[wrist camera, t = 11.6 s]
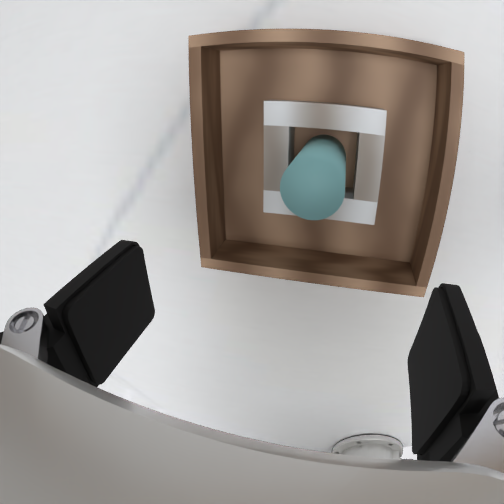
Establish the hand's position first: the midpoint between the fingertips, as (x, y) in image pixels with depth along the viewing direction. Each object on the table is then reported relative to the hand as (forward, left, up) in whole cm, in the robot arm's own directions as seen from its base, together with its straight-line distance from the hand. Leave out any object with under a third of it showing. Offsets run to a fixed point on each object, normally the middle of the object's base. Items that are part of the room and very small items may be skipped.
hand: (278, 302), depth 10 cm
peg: (0, -1, -19) cm, 19 cm away
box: (0, -1, -20) cm, 20 cm away
